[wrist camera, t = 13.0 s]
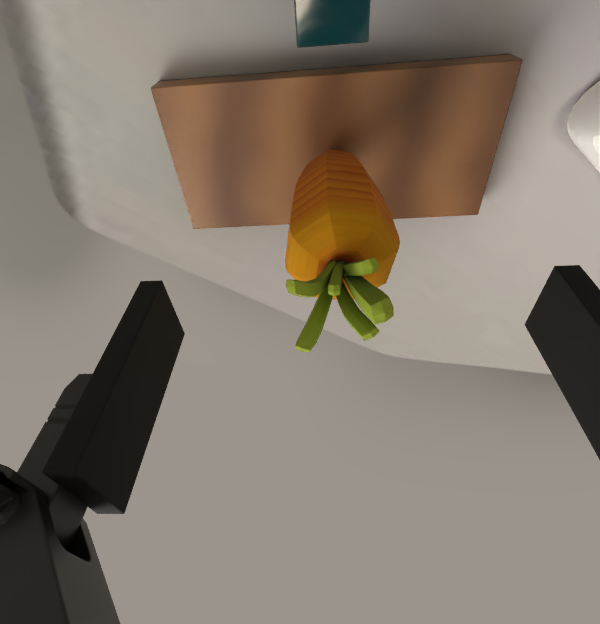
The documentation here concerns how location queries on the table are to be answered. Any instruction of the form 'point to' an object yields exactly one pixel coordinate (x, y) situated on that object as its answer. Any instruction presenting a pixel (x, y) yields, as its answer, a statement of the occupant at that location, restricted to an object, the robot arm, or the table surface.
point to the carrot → (340, 245)
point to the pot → (331, 22)
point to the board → (337, 135)
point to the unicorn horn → (587, 124)
